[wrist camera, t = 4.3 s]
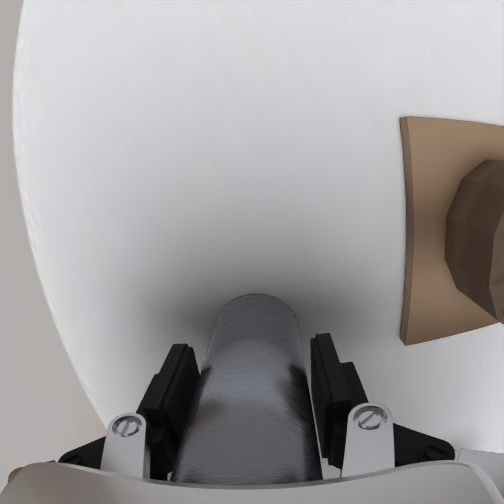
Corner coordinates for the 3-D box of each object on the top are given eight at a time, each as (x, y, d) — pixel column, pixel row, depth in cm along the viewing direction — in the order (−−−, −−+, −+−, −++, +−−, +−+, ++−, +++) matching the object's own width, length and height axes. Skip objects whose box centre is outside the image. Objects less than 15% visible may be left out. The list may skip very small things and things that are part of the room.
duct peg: (299, 360, 15) (325, 568, 5) (222, 365, 16) (181, 567, 5) (295, 289, 14) (340, 523, 4) (209, 297, 15) (124, 516, 4)
